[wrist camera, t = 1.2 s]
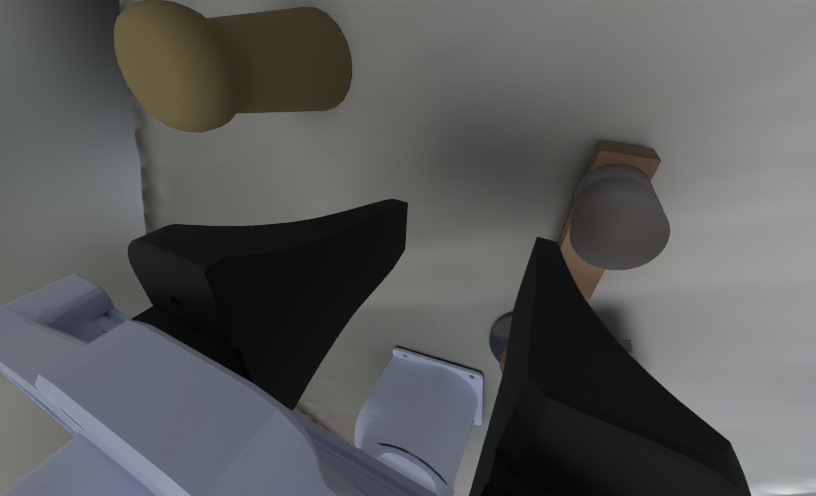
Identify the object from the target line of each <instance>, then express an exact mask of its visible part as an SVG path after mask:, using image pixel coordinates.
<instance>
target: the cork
mask: <svg viewBox="0 0 816 496" xmlns="http://www.w3.org/2000/svg"><path fill="white" fill-rule="evenodd" d="M114 44H115V51H116V56H117V60H118V64H119V66H120V68H121V71H122V73H123V76H124V78H125V80H126V82H127V84H128V85H129V87H130V89H131V91H132V92H133V94H134V95H135V96H136V98H137V99H138V100H139V102H140V103H141V104H142V105H143V106H144V107H145V108H146V109H147V110H148V111H149V112H150V113H151V114H152V115H153V116H154V117H155V118H156V119H157V120H159V121H160V122H162V123H163V124H165V125H167V126H169V127H172V128H175V129H178V130H182V131H187V132H205V131H209V130H213V129H216V128H219V127H221V126H223V125H225V124H226V123H228V122H230V120H231V119H232V118H233V117H234V116H235V114H236V113H266V112H297V111H325V110H329V109H332V108H335V107H336V106H337V105H338V104H340V103H341V102H342V101H343V100H344V98H345V96H346V94H347V92H348V90H349V87H350V82H351V77H352V65H351V55H350V52H349V48H348V45H347V41H346V39H345V37H344V35H343V33H342V32H341V30H340V28H339V26H338V25H337V24H336V23H335V22H334V20H333V19H332V18H331V17H330V16H329V15H328V14H327V13H325V12H323V11H321V10H319V9H317V8H314V7H301V8H292V9H284V10H275V11H266V12H257V13H248V14H239V15H231V16H222V17H213V18H205V17H204V16H203V15H202V14H200V13H198V12H196V11H194V10H192V9H190V8H188V7H186V6H183V5H181V4H178V3H176V2H171V1H163V0H144V1H140V2H135V3H133V4H132V5H130V6H129V7H128V8H127V9H126V10H124V11H123V12H122V13H121V14H120V15H119V16H118V17H117V20H116V23H115V27H114Z"/></svg>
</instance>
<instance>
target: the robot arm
mask: <svg viewBox="0 0 816 496" xmlns="http://www.w3.org/2000/svg"><path fill="white" fill-rule="evenodd" d="M407 209H408V203H407V202H403V201H400V200H396V199H388V200H384V201H380V202H376V203H372V204H369V205H365V206H362V207H358V208H354V209H351V210H347V211H344V212H339V213H335V214H331V215H327V216H323V217H319V218H314V219H308V220H302V221H296V222H289V223H279V224H268V225H255V226H203V225H182V224H172V225H168V226H165V227H162V228H160V229H158V230H156V231H153V232H151V233H149V234H146V235H144V236H142V237H139V238H137V239H135V240H133V241H132V242H131V243H130V244H129V247H128V257H129V261H130V264H131V266H132V268H133V270H134V272H135V274H136V276H137V278H138V280H139V281H140V283H141V285H142V287H143V289H144V290H145V292H146V294H147V296H148V298H149V299H150V301H151V303H152V305H153V306H152V307H151V308H149V309H147V310H146V311H144V312H142V313H141V314H139V315H137V316H136V317H134V318H132V317H130V316H128V315H126V314H125V313H123V312H121V311H120V310H118V309H116V308H115V307H114V303H113V302H112V300H111V298H110V297H109V295H108V294H107V293H106V291H105V290H104V289H103V288H102V287H101V286H99V285H98V284H97V283H95V282H93V281H91V280H89V279H88V278H86V277H84V276H82V275H80V274H76V273H75V274H72V275H70V276H67V277H65V278H63V279H61V280H59V281H56V282H54V283H52V284H50V285H47V286H45V287H43V288H41V289H38V290H36V291H34V292H32V293H30V294H27V295H25V296H23V297H21V298H18V299H16V300H14V301H12V302H9V303H7V304H5V305H3V306H1V307H0V371H1V372H2V373H3V374H4V375H5V376H6V377H7V378H8V379H9V380H11V381H12V382H13V383H14V384H15V385H16V386H17V387H18V388H20V389H21V390H22V391H23V392H24V393H25V394H27V395H28V396H29V397H30V398H31V399H32V400H33V401H34V402H36V403H37V404H38V405H39V406H40V407H41V408H43V409H44V410H45V411H46V412H47V413H48V414H49V415H51V416H52V417H53V418H54V419H55V420H56V421H57V422H59V423H60V424H61V425H62V426H63V427H64V428H65V429H67V430H68V431H69V432H70V433H71V434H72V435H74V436H75V438H73V439H72V440H71V441H70V442H68V443H67V444H66V445H65V446H63V447H62V448H61V449H59V450H58V451H57V452H55V453H54V454H53V455H51V456H50V457H49V458H47V459H46V460H45V461H44V462H42V463H41V464H40V465H38V466H37V467H36V468H34V469H33V470H32V471H31V472H29V473H28V474H27V475H25V476H24V477H23V478H21V479H20V480H19V481H17V482H16V483H15V484H14V485H12V486H11V487H10V488H8V489H7V490H6V491H4V492H3V493H2V494H1V495H0V496H453V495H454V489H453V485H454V481H455V478H456V475H457V471H458V468H459V465H460V462H461V458H462V455H463V452H464V449H465V445H466V442H467V439H468V435H469V432H470V429H471V426H472V424H474V425H477V426H481V425H482V421H483V381H484V377H483V375H482V374H481V373H479V372H476V371H473V370H470V369H467V368H463V367H460V366H457V365H453V364H450V363H447V362H444V361H440V360H437V359H434V358H431V357H427V356H424V355H421V354H417V353H414V352H411V351H408V350H404V349H401V348H398V347H395V348H394V349H393V357H392V359H391V360H390V362H389V363H388V365H387V367H386V368H385V370H384V371H383V373H382V375H381V376H380V378H379V379H378V381H377V383H376V384H375V386H374V387H373V389H372V391H371V392H370V394H369V395H368V397H367V399H366V400H365V402H364V404H363V406H362V408H361V411H360V413H359V416H358V419H357V423H356V427H355V445H356V447H357V448H356V447H354V446H352V445H351V444H349V443H347V442H345V441H344V440H342V439H340V438H339V437H337V436H335V435H333V434H332V433H330V432H328V431H327V430H325V429H323V428H321V427H320V426H318V425H316V424H314V423H313V422H311V421H309V420H308V419H306V418H304V417H302V416H301V415H299V414H297V413H296V412H294V411H293V410H294V408H295V406H296V405H297V403H298V401H299V399H300V397H301V396H302V394H303V392H304V390H305V389H306V387H307V385H308V383H309V382H310V380H311V378H312V377H313V375H314V374H315V372H316V370H317V369H318V367H319V365H320V364H321V362H322V360H323V359H324V357H325V356H326V354H327V353H328V351H329V349H330V348H331V346H332V345H333V343H334V342H335V340H336V339H337V337H338V336H339V334H340V333H341V331H342V330H343V329H344V327H345V326H346V324H347V323H348V321H349V320H350V318H351V317H352V316H353V314H354V313H355V312H356V311H357V309H358V308H359V307H360V306H361V305H362V304H363V302H364V301H365V300H366V299H367V298H368V297H369V296H370V294H371V293H372V292H373V291H374V290H375V289H376V288H377V287H378V285H379V284H380V283H381V282H382V281H383V280H384V278H385V277H386V276H387V275H388V274H389V273H390V271H391V270H392V269H393V268H394V266H395V265H396V263H397V262H398V260H399V258H400V257H401V255H402V254H403V252H404V250H405V243H406V226H407ZM469 496H751V493H750V490H749V487H748V484H747V481H746V478H745V475H744V473H743V470H742V468H741V466H740V463H739V461H738V459H737V456H736V454H735V452H734V450H733V448H732V445H731V443H730V442H729V441H728V440H727V439H726V438H724V437H723V436H722V435H721V434H720V433H718V432H717V431H716V430H715V429H713V428H712V427H711V426H710V425H708V424H707V423H706V422H705V421H704V420H702V419H701V418H700V417H699V416H697V415H696V414H695V413H694V412H692V411H691V410H690V409H689V408H688V407H686V406H685V405H684V404H683V403H681V402H680V401H679V400H678V399H677V398H675V397H674V396H673V395H672V394H671V393H670V392H669V391H668V390H666V389H665V388H664V387H663V386H662V385H661V384H660V383H659V382H658V381H657V380H655V379H654V378H653V377H652V376H651V375H650V374H649V373H648V372H647V371H646V370H645V369H644V368H643V367H642V366H641V365H640V364H639V363H638V362H637V361H636V360H635V359H634V358H633V357H632V356H631V355H630V354H629V353H628V352H627V351H626V350H625V349H624V348H623V347H622V345H621V344H620V343H619V342H618V341H617V340H616V339H615V338H614V337H613V336H612V334H611V333H610V332H609V331H608V330H607V328H606V327H605V326H604V325H603V323H602V322H601V321H600V319H599V318H598V317H597V315H596V314H595V313H594V312H593V310H592V309H591V307H590V306H589V304H588V303H587V301H586V300H585V298H584V296H583V295H582V293H581V291H580V290H579V288H578V286H577V284H576V282H575V280H574V278H573V276H572V274H571V272H570V270H569V268H568V266H567V264H566V261H565V259H564V256H563V254H562V251H561V248H560V246H559V244H558V242H555V241H551V240H547V239H544V238H540V237H537V238H536V241H535V244H534V247H533V250H532V253H531V256H530V259H529V262H528V265H527V268H526V271H525V274H524V277H523V280H522V283H521V286H520V289H519V292H518V296H517V299H516V303H515V306H514V309H513V315H512V321H511V327H510V333H509V339H508V346H507V352H506V358H505V364H504V370H503V374H502V379H501V383H500V387H499V390H498V394H497V398H496V401H495V405H494V409H493V412H492V416H491V419H490V423H489V427H488V430H487V434H486V437H485V441H484V444H483V448H482V452H481V455H480V459H479V462H478V466H477V469H476V473H475V476H474V480H473V483H472V487H471V490H470V494H469Z"/></svg>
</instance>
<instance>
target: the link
mask: <svg viewBox="0 0 816 496" xmlns="http://www.w3.org/2000/svg"><path fill="white" fill-rule="evenodd" d="M660 162H661V160H660V158H659V157H658V155H657V153H656V152H655V150H654V149H651V148H645V147H638V146H632V145H626V144H619V143H613V142H607V141H600V140H599V141H598V143H597V146H596V148H595V151H594V153H593V156H592V159H591V161H590V164H589V166H588V169H587V172H586V174H585V176H584V177H583V178H582V179H581V180H580V181H579V182H578V184H577V186H576V188H575V190H574V194H573V204H572V210H571V213H570V215H569V218H568V221H567V223H566V226H565V228H564V231H563V233H562V236H561V239H560V241H559V246H560V248H561V251H562V254H563V256H564V259H565V261H566V264H567V266H568V268H569V270H570V272H571V274H572V276H573V278H574V280H575V282H576V284H577V286H578V288H579V290H580V291H581V293H582V295H583V296H584V298H585V300H586V301H587V303H588V301H589V299H590V297H591V295H592V293H593V292H594V290H595V288H596V286H597V284H598V282H599V280H600V278H601V276H602V274H603V272H604V270H605V269H608V270H626V269H632V268H636V267H639V266H641V265H644V264H646V263H648V262H650V261H651V260H653V259H654V258H655V257H657V256H658V255H659V254H660V253H661V252H662V250H663V249H664V248H665V246H666V244H667V242H668V239H669V235H670V226H669V222H668V220H667V217H666V215H665V213H664V211H663V208H662V206H661V204H660V202H659V200H658V197H657V195H656V193H655V191H654V188H653V186H652V184H651V182H650V181H651V179H652V177H653V175H654V173H655V171H656V169H657V167H658V165H659V164H660ZM508 339H509V337H508ZM508 339H507V340H506V343H505V347H504V350H503V354H502V358H501V361H500V368H501V371H502V373H503V370H504V364H505V358H506V352H507V346H508Z"/></svg>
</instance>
